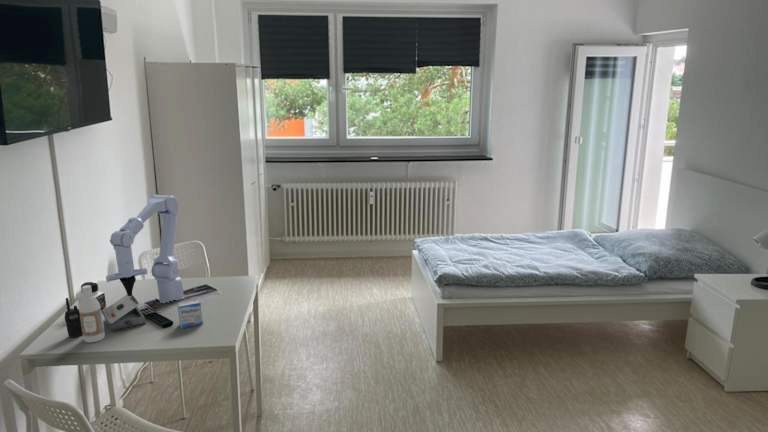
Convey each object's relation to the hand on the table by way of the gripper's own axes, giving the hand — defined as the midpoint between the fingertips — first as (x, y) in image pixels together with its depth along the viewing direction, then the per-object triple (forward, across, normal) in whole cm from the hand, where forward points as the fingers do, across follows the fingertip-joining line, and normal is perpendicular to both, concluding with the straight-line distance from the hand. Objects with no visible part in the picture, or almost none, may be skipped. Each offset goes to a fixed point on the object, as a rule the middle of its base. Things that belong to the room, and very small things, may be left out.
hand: (129, 295), depth 228 cm
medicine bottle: (+9, -12, +17) cm, 23 cm away
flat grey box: (+9, -4, -3) cm, 10 cm away
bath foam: (+10, -16, -12) cm, 22 cm away
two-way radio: (+10, -20, -4) cm, 23 cm away
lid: (+4, -4, -3) cm, 6 cm away
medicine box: (+10, +16, -21) cm, 28 cm away
